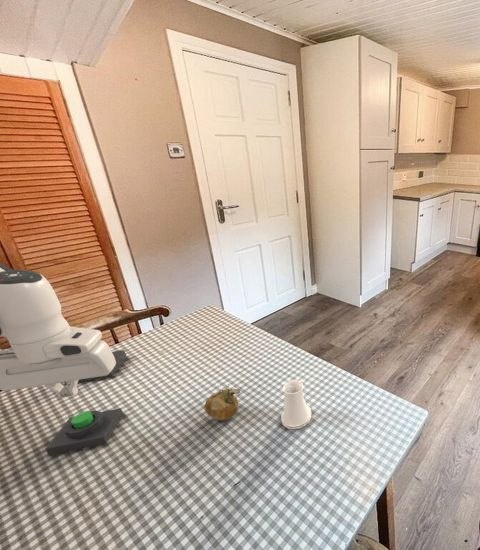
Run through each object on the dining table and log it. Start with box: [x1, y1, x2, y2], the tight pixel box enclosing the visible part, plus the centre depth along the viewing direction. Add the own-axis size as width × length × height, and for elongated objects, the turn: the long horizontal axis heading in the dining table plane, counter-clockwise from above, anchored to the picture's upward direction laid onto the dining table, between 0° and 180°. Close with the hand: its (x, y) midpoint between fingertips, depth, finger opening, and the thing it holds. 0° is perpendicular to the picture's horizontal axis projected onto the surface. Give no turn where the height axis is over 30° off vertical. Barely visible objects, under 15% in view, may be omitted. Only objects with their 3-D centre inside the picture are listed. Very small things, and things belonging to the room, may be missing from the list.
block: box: [45, 407, 124, 456], centre depth 73 cm, size 11×9×4 cm
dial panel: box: [63, 349, 128, 386], centre depth 94 cm, size 12×10×3 cm
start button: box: [71, 410, 94, 429], centre depth 72 cm, size 4×4×2 cm
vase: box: [280, 379, 312, 430], centre depth 76 cm, size 8×8×10 cm
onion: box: [204, 387, 242, 421], centre depth 77 cm, size 8×8×8 cm
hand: (69, 394), depth 69 cm, fingers closed
